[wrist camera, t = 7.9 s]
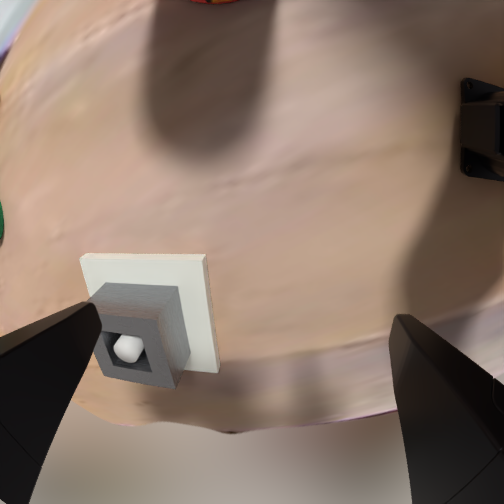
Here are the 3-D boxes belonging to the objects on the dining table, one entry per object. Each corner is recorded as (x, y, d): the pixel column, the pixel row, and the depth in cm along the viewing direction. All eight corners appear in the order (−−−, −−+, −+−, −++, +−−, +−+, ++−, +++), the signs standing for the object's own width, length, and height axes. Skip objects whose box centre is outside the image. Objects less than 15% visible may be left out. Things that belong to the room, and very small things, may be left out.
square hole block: (177, 285, 21) (156, 319, 17) (190, 352, 23) (175, 389, 19) (105, 282, 21) (77, 310, 18) (124, 344, 24) (104, 375, 20)
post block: (205, 254, 20) (182, 292, 16) (220, 364, 24) (206, 410, 20) (86, 253, 22) (48, 282, 17) (116, 352, 26) (92, 388, 21)
